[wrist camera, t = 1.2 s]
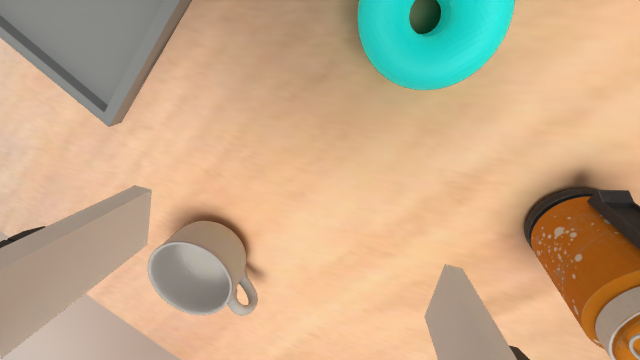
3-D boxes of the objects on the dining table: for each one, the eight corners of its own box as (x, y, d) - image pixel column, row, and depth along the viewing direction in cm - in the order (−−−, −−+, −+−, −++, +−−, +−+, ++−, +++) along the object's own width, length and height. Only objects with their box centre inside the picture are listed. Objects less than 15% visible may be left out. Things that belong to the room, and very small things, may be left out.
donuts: (327, -8, 22) (479, -131, 18) (344, 0, 30) (449, -81, 27) (401, 119, 24) (547, 37, 20) (398, 93, 33) (499, 32, 29)
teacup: (168, 235, 47) (130, 273, 40) (211, 194, 43) (177, 229, 36) (239, 297, 50) (215, 342, 43) (287, 264, 45) (268, 309, 38)
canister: (516, 254, 38) (626, 455, 21) (534, 166, 34) (696, 328, 16) (605, 257, 36) (810, 481, 19) (637, 166, 32) (949, 347, 14)
